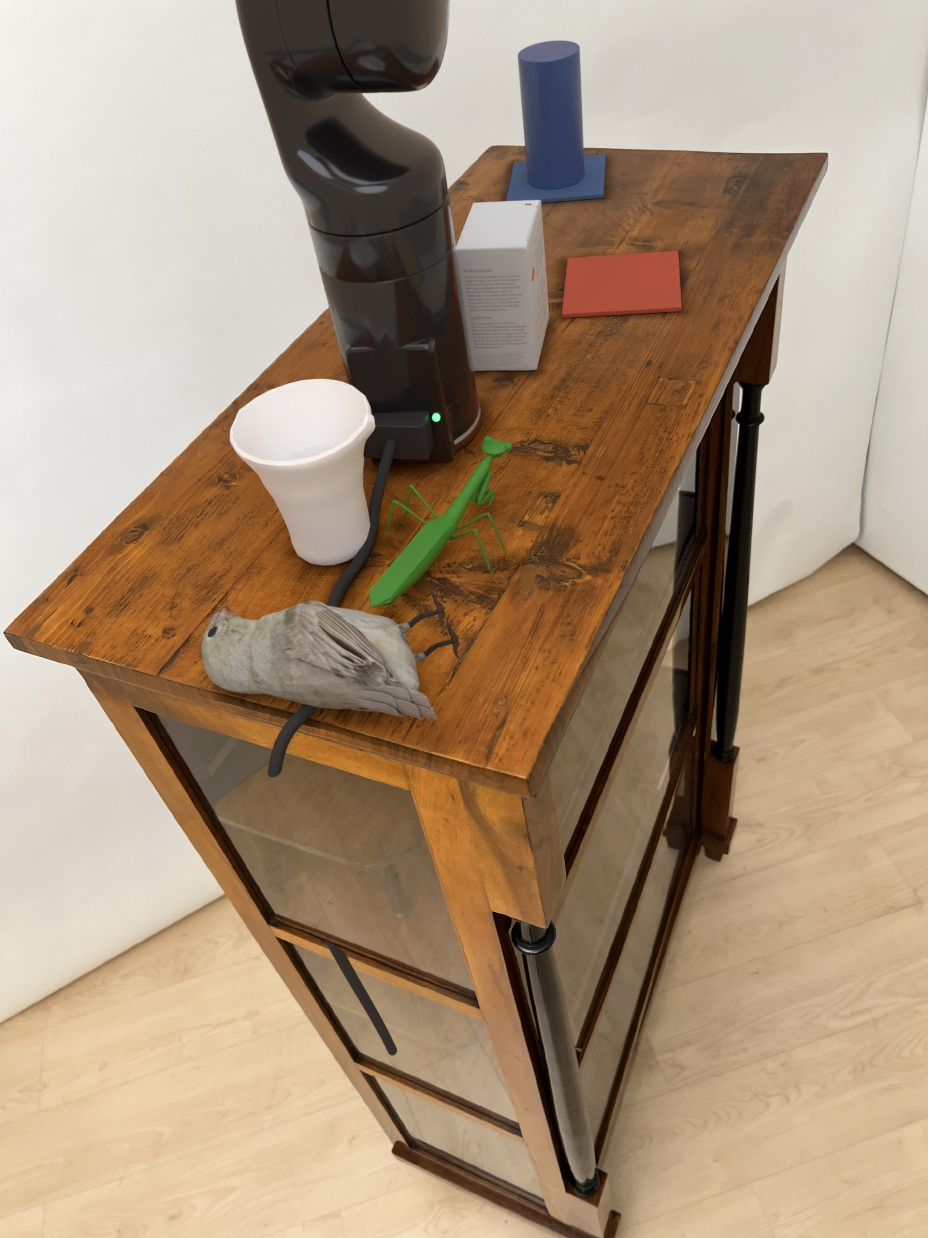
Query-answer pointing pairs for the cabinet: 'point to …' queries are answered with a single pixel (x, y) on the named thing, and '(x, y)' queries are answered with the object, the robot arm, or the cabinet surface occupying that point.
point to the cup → (311, 462)
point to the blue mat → (582, 190)
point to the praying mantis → (438, 530)
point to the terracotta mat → (622, 284)
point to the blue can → (552, 113)
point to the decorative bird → (322, 657)
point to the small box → (504, 284)
